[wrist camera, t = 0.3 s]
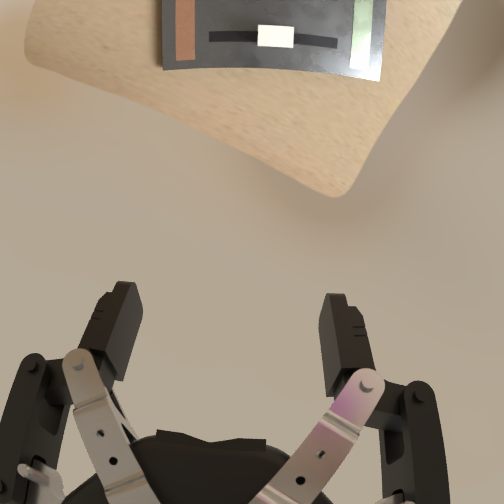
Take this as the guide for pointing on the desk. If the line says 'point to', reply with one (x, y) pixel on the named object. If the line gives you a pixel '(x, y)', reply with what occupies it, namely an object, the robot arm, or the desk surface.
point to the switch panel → (277, 14)
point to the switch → (275, 36)
